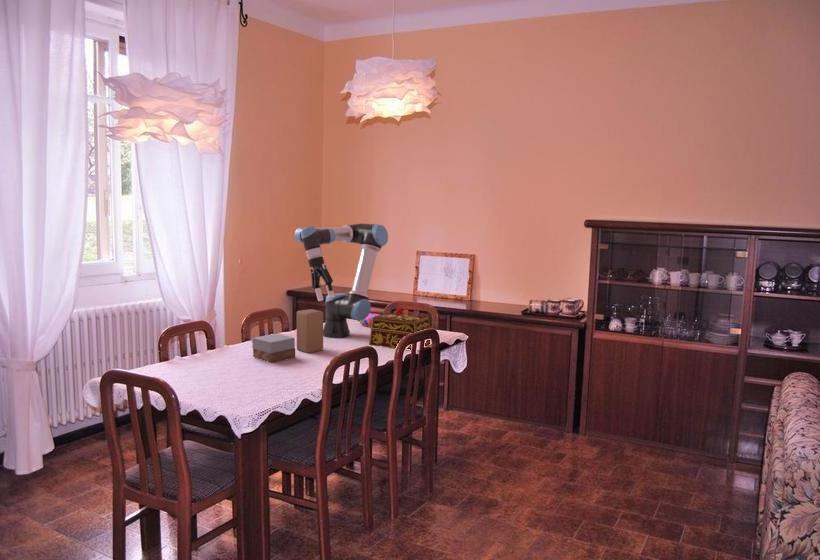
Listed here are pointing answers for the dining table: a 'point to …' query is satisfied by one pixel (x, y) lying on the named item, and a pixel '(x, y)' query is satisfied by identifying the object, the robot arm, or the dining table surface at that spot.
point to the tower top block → (273, 343)
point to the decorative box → (395, 328)
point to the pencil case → (368, 320)
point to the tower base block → (274, 355)
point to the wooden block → (309, 330)
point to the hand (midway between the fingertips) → (326, 299)
